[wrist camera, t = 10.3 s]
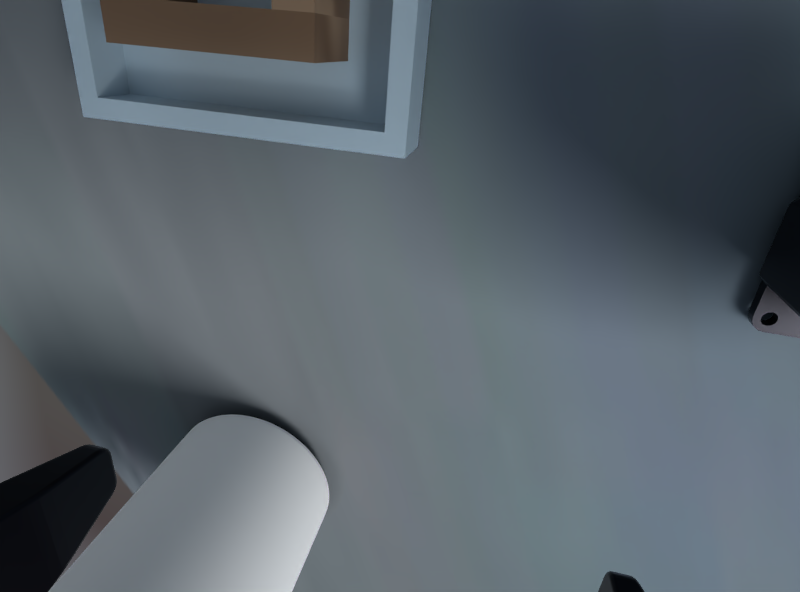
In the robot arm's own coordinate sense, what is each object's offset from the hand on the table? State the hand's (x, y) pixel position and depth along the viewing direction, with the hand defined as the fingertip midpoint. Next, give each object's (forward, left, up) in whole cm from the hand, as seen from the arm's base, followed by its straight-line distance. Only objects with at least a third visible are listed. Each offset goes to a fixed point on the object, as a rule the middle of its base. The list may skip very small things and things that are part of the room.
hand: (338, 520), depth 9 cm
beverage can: (+8, +13, -12) cm, 20 cm away
